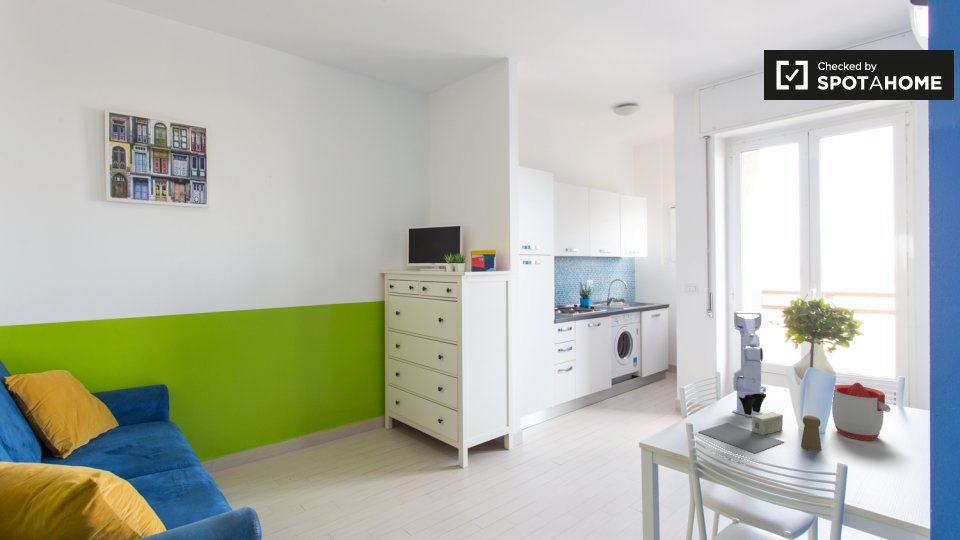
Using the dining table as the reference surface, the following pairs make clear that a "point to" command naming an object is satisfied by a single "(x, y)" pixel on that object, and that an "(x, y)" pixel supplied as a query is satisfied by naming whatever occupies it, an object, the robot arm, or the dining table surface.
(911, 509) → the dining table surface
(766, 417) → the skincare box
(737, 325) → the robot arm
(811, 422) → the cork
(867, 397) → the citrus juicer
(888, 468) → the dining table surface
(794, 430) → the dining table surface
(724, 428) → the mat
